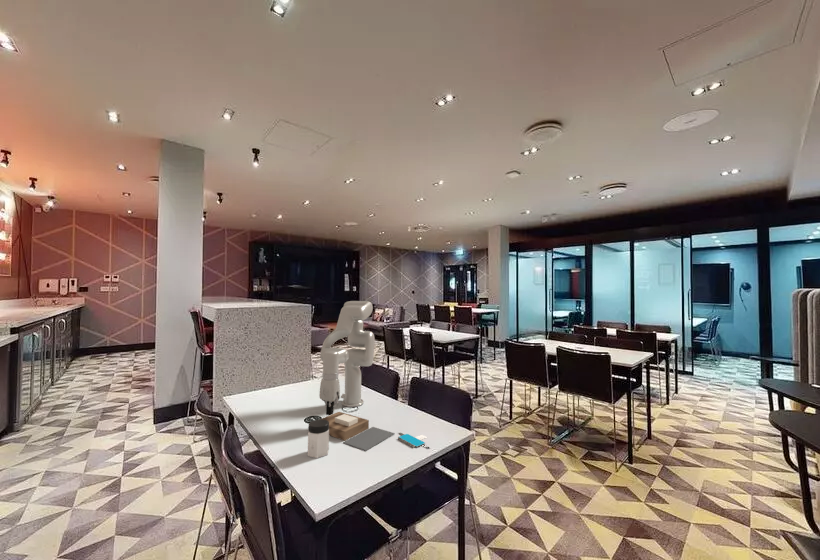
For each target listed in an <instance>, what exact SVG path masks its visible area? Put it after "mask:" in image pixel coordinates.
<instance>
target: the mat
mask: <svg viewBox="0 0 820 560" xmlns="http://www.w3.org/2000/svg"><path fill="white" fill-rule="evenodd" d="M393 436H395V432H391V431H388V430H385V429H382V428H379V427H375V426H371V427H369V429H367V430H365V431H363V432H361V433H359V434H357V435H355V436H353V437H351V438H349V439H347V440H346V441H343V444H345V445H347V446H350V447H353V448H356V449H359V450H361V451H364V452H367V451H369V450H371V449H372V448H374V447H376V446H377V445H379V444H381V443H382V442H384V441H385V440H387V439H389V438H391V437H393Z"/></svg>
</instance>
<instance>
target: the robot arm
mask: <svg viewBox="0 0 820 560" xmlns="http://www.w3.org/2000/svg"><path fill="white" fill-rule="evenodd" d="M373 309H374V307H373V303H372V302H371V301H368V300H367V301H365V300H350V301H346V302H344V304H343V307H342V308H341V309H340V313H339V315H338V320H337V323H336V326H335V327H336V328H335V329H334V330H333V331H332V332H330V333H329V334H327V335H328V336H327V337H326V338H325V339H324V340H323V343H322V346H321V349H320V353H319V358H320V360H321V362H322V374H321V375H322V378H321V380H320V385H319V399H320V400H322V402H324V406H325V408H326V409H325V413H326V414H325V415H326V416H329V415H332V414H334V406H335V405H337V404H339V400H340V399H342V401H341V405H342V406H344V407H347V408H355V407H360V406H363V404H364V402H365V401H364V399H362V370H361V369H360V367H370V366H372V365H373V362H374V356H375V344H376V342H375V341H376V340H375V334H374V333H373V332H372V331H370V330H364V321H365V320H366V319H368V318H369V317H370V316H371V314H372V312H373V311H374V310H373ZM345 337H346V338H347V344H348V346H349V347H352V348H349V349H346V348H340V347H339V348H338V347H332V346H333V344H334V343H335V342H337V341H339V340H341V339H344V338H345ZM353 347H354V348H353ZM356 348H357V349H356ZM358 348H364V349H358ZM340 364H344V393H342V394H341V386H340V380H339V365H340Z"/></svg>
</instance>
